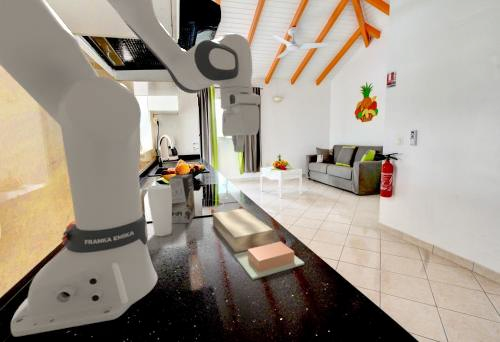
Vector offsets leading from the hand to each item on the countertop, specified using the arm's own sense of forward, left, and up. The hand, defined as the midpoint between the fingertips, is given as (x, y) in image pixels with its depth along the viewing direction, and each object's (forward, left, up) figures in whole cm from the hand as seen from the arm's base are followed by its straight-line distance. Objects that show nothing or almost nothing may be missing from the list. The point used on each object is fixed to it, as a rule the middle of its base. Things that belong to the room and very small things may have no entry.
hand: (238, 152), depth 66 cm
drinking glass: (-21, +14, -25) cm, 36 cm away
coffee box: (-13, +25, -25) cm, 38 cm away
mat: (+1, -15, -25) cm, 29 cm away
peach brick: (+1, -17, -23) cm, 29 cm away
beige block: (+1, +3, -25) cm, 25 cm away
